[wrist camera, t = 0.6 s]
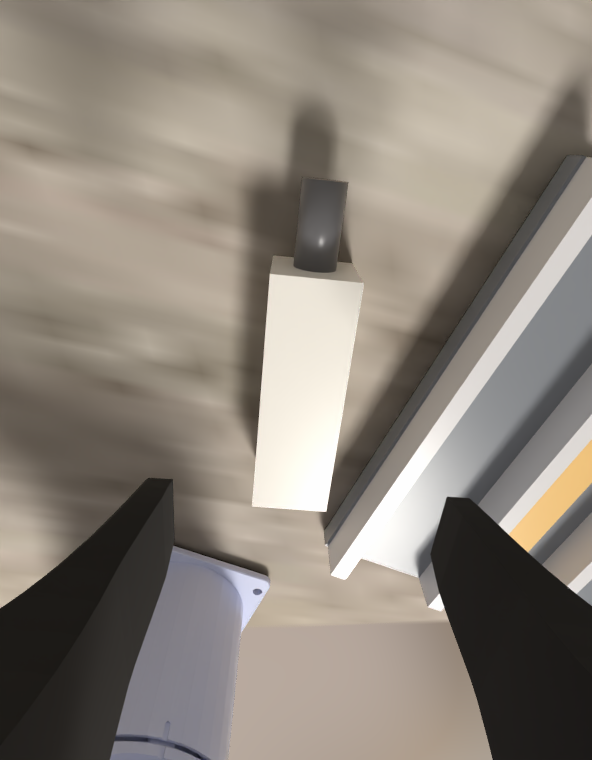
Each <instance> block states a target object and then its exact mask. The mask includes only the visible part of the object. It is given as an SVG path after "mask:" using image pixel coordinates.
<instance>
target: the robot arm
mask: <svg viewBox="0 0 592 760" xmlns="http://www.w3.org/2000/svg"><path fill="white" fill-rule="evenodd" d="M174 540H175V539H174V507H173V479H157V478H148V479H147V480H146V481H144V482H143V484H142V485H141V486H140V487H139V488H138V489H137V490H136V491H135V492H134V493H133V494H132V495H131V497H130V498H129V499H128V500H127V501H126V502H125V503H124V504H123V505H122V506H121V507H120V508H119V509H118V510H117V511H116V512H115V513H114V514H113V515H112V516H111V517H110V518H109V519H108V520H107V521H106V522H105V523H104V524H103V525H102V526H101V527H100V528H99V529H98V530H97V531H96V532H95V533H94V534H93V535H92V536H91V537H90V538H88V539H87V540H86V541H85V542H84V543H83V544H82V545H81V546H79V547H78V548H77V549H76V550H75V551H74V552H73V553H72V554H70V555H69V556H68V557H67V558H66V559H65V560H64V561H63V562H61V563H60V564H59V565H58V566H57V567H55V568H54V569H53V570H52V571H50V572H49V573H48V574H47V575H45V576H44V577H43V578H42V579H40V580H39V581H38V582H36V583H35V584H34V585H32V586H31V587H30V588H29V589H27V590H26V591H25V592H23V593H22V594H20V595H19V596H18V597H16V598H15V599H13V600H12V601H10V602H9V603H8V604H6V605H5V606H3V607H2V608H0V760H228V756H229V746H230V736H231V726H232V717H233V707H234V697H235V687H236V677H237V666H238V657H239V647H240V638H241V632H242V631H243V629H244V628H245V626H246V624H247V623H248V621H249V620H250V618H251V616H252V615H253V613H254V612H255V610H256V608H257V607H258V605H259V604H260V602H261V600H262V599H263V597H264V596H265V594H266V592H267V591H268V589H269V587H270V579H269V577H268V576H266V575H263V574H260V573H257V572H254V571H251V570H248V569H244V568H241V567H238V566H235V565H232V564H229V563H226V562H223V561H219V560H216V559H213V558H210V557H207V556H204V555H201V554H198V553H195V552H191V551H188V550H185V549H182V548H179V547H176V546H173V544H174ZM430 555H431V560H432V564H433V569H434V574H435V578H436V582H437V586H438V590H439V594H440V596H441V599H442V602H443V605H444V608H445V611H446V613H447V616H448V619H449V622H450V624H451V627H452V630H453V633H454V635H455V638H456V640H457V643H458V646H459V649H460V652H461V654H462V657H463V660H464V663H465V665H466V668H467V671H468V673H469V676H470V679H471V682H472V685H473V688H474V691H475V694H476V697H477V701H478V705H479V708H480V712H481V716H482V720H483V723H484V727H485V730H486V735H487V738H488V742H489V746H490V750H491V754H492V758H493V760H592V606H591V605H590V604H589V603H587V602H586V601H585V600H584V599H582V598H581V597H580V596H578V595H577V594H576V593H575V592H573V591H572V590H571V589H570V588H569V587H567V586H566V585H565V584H564V583H563V582H561V581H560V580H559V579H558V578H557V577H555V576H554V575H553V574H552V573H551V572H549V571H548V570H547V569H546V568H545V567H544V566H543V565H541V564H540V563H539V562H538V561H537V560H536V559H535V558H534V557H532V556H531V555H530V554H529V553H528V552H527V551H526V550H525V549H524V548H523V547H521V546H520V545H519V544H518V543H517V542H516V541H515V540H514V539H513V538H512V537H511V536H510V535H509V534H508V533H506V532H505V531H504V530H503V529H502V528H501V527H500V526H499V525H498V524H497V523H496V522H495V521H494V520H493V519H492V518H491V517H490V516H489V515H488V514H486V513H485V512H484V511H483V510H482V509H481V508H480V507H479V506H478V505H477V504H476V503H475V502H473V501H472V500H471V499H470V498H461V497H447V498H446V501H445V505H444V508H443V512H442V515H441V519H440V522H439V525H438V529H437V532H436V536H435V539H434V543H433V546H432V550H431V553H430Z"/></svg>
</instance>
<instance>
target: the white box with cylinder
mask: <svg viewBox="0 0 592 760" xmlns="http://www.w3.org/2000/svg"><path fill="white" fill-rule="evenodd" d="M347 188H348V182H343V181H336V180H328V179H319V178H308V177H302V182H301V192H300V203H299V213H298V223H297V233H296V244H295V254H294V257H285V256H275V255H273V260H272V265H271V270H270V279H269V292H268V305H267V318H266V331H265V344H264V358H263V371H262V384H261V397H260V410H259V423H258V437H257V450H256V463H255V476H254V489H253V502H252V506H253V507H267V508H281V509H295V510H308V511H322V512H326V510H327V504H328V498H329V492H330V486H331V480H332V474H333V468H334V462H335V456H336V450H337V444H338V438H339V432H340V426H341V420H342V414H343V408H344V402H345V395H346V389H347V383H348V377H349V371H350V365H351V359H352V353H353V347H354V341H355V335H356V329H357V323H358V317H359V311H360V305H361V299H362V293H363V287H364V282H363V280H362V279H361V277H360V275H359V274H358V272H357V270H356V268H355V267H354V265H353V263H345V262H337V261H338V254H339V247H340V239H341V232H342V225H343V217H344V210H345V203H346V196H347Z"/></svg>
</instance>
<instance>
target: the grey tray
mask: <svg viewBox="0 0 592 760" xmlns="http://www.w3.org/2000/svg"><path fill="white" fill-rule="evenodd" d="M447 497H461V498H470V499H471V500H472V501H473V502H475V503H476V504H477V505H478V506H479V507H480V508H481V509H482V510H483V511H484V512H485V513H486V514H488V515H489V516H490V517H491V518H492V519H493V520H494V521H495V522H496V523H497V524H498V525H499V526H500V527H501V528H502V529H503V530H504V531H505V532H506V533H508V534H509V535H510V536H511V537H512V538H513V539H514V540H515V541H516V542H517V543H518V544H519V545H520V546H521V547H523V548H524V549H525V550H526V551H527V552H528V553H529V554H530V555H531V556H532V557H534V558H535V559H536V560H537V561H538V562H539V563H540V564H541V565H543V566H544V567H545V568H546V569H547V570H548V571H549V572H551V573H552V574H553V575H554V576H555V577H557V578H558V579H559V580H560V581H561V582H563V583H564V584H565V585H566V586H567V587H569V588H570V589H571V590H572V591H573V592H575V593H576V594H577V595H578V596H580V597H581V598H582V599H584V600H585V601H586V602H587V603H589V604H590V605H591V606H592V157H585V156H583V155H567V157H566V158H565V160H564V161H563V163H562V164H561V166H560V167H559V169H558V170H557V172H556V174H555V175H554V177H553V178H552V180H551V181H550V183H549V184H548V186H547V187H546V189H545V191H544V192H543V194H542V195H541V197H540V198H539V200H538V201H537V203H536V204H535V206H534V208H533V209H532V211H531V212H530V214H529V215H528V217H527V218H526V220H525V222H524V223H523V225H522V226H521V228H520V229H519V231H518V232H517V234H516V235H515V237H514V239H513V240H512V242H511V243H510V245H509V246H508V248H507V249H506V251H505V252H504V254H503V256H502V257H501V259H500V260H499V262H498V263H497V265H496V266H495V268H494V269H493V271H492V273H491V274H490V276H489V277H488V279H487V280H486V282H485V283H484V285H483V286H482V288H481V290H480V291H479V293H478V294H477V296H476V297H475V299H474V300H473V302H472V303H471V305H470V307H469V308H468V310H467V311H466V313H465V314H464V316H463V317H462V319H461V320H460V322H459V324H458V325H457V327H456V328H455V330H454V331H453V333H452V334H451V336H450V337H449V339H448V341H447V342H446V344H445V345H444V347H443V348H442V350H441V351H440V353H439V354H438V356H437V358H436V359H435V361H434V362H433V364H432V365H431V367H430V368H429V370H428V372H427V373H426V375H425V376H424V378H423V379H422V381H421V382H420V384H419V385H418V387H417V389H416V390H415V392H414V393H413V395H412V396H411V398H410V399H409V401H408V402H407V404H406V406H405V407H404V409H403V410H402V412H401V413H400V415H399V416H398V418H397V419H396V421H395V423H394V424H393V426H392V427H391V429H390V430H389V432H388V433H387V435H386V436H385V438H384V440H383V441H382V443H381V444H380V446H379V447H378V449H377V450H376V452H375V453H374V455H373V457H372V458H371V460H370V461H369V463H368V464H367V466H366V467H365V469H364V470H363V472H362V474H361V475H360V477H359V478H358V480H357V481H356V483H355V484H354V486H353V487H352V489H351V491H350V492H349V494H348V495H347V497H346V498H345V500H344V501H343V503H342V504H341V506H340V508H339V509H338V511H337V512H336V514H335V515H334V517H333V518H332V520H331V521H330V523H329V525H328V526H327V528H326V529H325V531H324V538H325V546H327V547H328V553H329V563H330V573H331V575H332V576H335V577H338V578H341V579H344V580H346V578H347V577H348V576H349V574H350V573H351V571H352V570H353V569H354V567H355V566H356V564H357V563H358V562H359V560H360V559H361V558H362V559H365V560H368V561H371V562H374V563H377V564H380V565H383V566H385V567H388V568H391V569H394V570H397V571H400V572H403V573H406V574H409V575H412V576H415V577H418V578H419V580H420V584H421V587H422V590H423V593H424V596H425V600H426V603H427V606H428V607H429V608H432V609H435V610H438V611H442V610H443V609H444V605H443V602H442V599H441V596H440V594H439V590H438V586H437V582H436V578H435V574H434V569H433V564H432V560H431V555H430V553H431V550H432V546H433V543H434V539H435V536H436V532H437V529H438V525H439V522H440V519H441V515H442V512H443V508H444V505H445V501H446V498H447Z"/></svg>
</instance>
